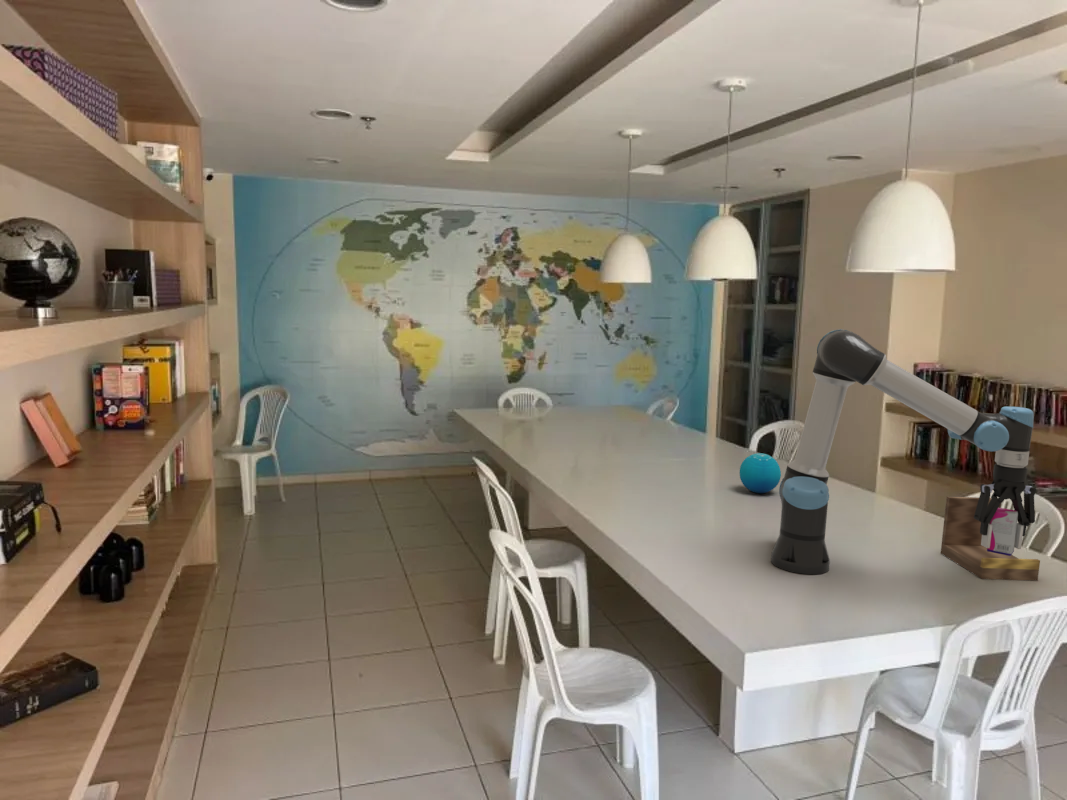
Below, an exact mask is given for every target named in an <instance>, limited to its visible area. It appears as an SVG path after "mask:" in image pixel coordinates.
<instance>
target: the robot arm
mask: <svg viewBox="0 0 1067 800" xmlns="http://www.w3.org/2000/svg"><path fill="white" fill-rule="evenodd" d="M815 358H816V359H815V361H814V362H815V363H814V364H813V370H812V375H813V376H814V378H815V384H814V387H813V391H812V394H811V399H810V402H809V406H808V409H807V412H806V417H805V421H804V424H803V428H802V432H801V434H800V435H801V436H800V438H799V441H798V447H797V450H796V454H795V457H794V459H793V460H792V461H790V462H789V463H787V466H786V468H785V473H784V476H783V478H782V479H781V480H780V482H779V492H778V493H779V497H780V502H781V510H780V511H781V514H780V528H779V535H778V538H777V539H776V542H775V544H774V547H773V548H772V551H771V557H770V562H771V564H773V565H774V567H778V568H779V569H780V570H784V571H787V572H792V573H795V574H803V575H819V574H820V575H821V574H824V573H827V572H829V570H830V566H831V565H830V563H831V561H830V558H829V552H828V549H827V545H826V540H825V539H826V531H827V527H826V526H827V518H828V517H827V516H828V504H829V500H830V493H829V491H830V490H829V486H828V481H829V477H830V473H829V472H828V471H827V468H826V467H827V463H828V460H829V457H830V454H831V449H832V445H833V442H834V440H835V439H834V438H835V434H836V431H837V428H838V424H839V421H840V418H841V417H840V416H841V414H842V410H843V406H844V402H845V399H846V396H847V392H848V388H849V387H850V386H853V385H854V384H856V382H857V383H859V384H860V385H862V386H868V385H870V386H872V387H873V388H875V389H877V390H879V391H881V392H882V393H884V394H885V395H887V396H889V397H891V398H893V399H894V400H896V401H898V402H900V403H902V404H904V405H905V406H907V407H909V408H910V409H912V410H914V411H916V412H917V413H919V414H921V415H923V416H924V417H926V418H928V419H930V420H932V421H933V422H935V423H936V424H938V425H940V426H942V427H944V428H946V429H947V433H948V436H949V437H950V438H952V439H953V440H954V439H955V440H960V441H962V440H966V441H968V442H970V443H971V444H973V445H975V446H976V447H977V448H979V449H981V450H982V451H986V452H995V455H994V462H995V464H994V465H993V471H992V472H993V473H992V477H993V478H992V479H993V481H992V482H991V483H990V484H984V483H982V484H980V486H979V488H980V489H979V490H980V494H979V497H978V498H979V500H978V504H977V507H976V511H975V514H974V519H976V520H978V521H980V522H981V526H980V534H982V540H981V545H982V546H984V547H986V548H990V541H991V533H992V524H990V521H991V520H992V518H993V516H994V514H995V513H996V511H997V509H998V507H999V505H1000V504H1001V505H1002V503H1003V502H1004V501H1005V500H1010V501H1011V503H1012V507H1013V510H1016V511H1018V520H1017V528H1016V537H1015V546H1014V549H1017V550H1021V549H1022V544H1023V543H1022V542H1023V537H1025V535H1026V532H1027V527H1029V526H1030V525H1031V524H1034V523H1035V522H1036V513H1035V511H1036V510H1035V495H1036V491H1037V488H1036V487H1033V486H1031V485H1026V483H1025V482H1026V480H1027V476H1028V468H1027V466H1028V465H1029V459H1030V450H1031V449H1030V448H1031V444H1032V443H1031V441H1032V436H1033V430H1034V419H1035V418H1034V417H1035V415H1034V411H1033V410H1032V409H1031V408H1026V407H1022V406H1003V407H1001V408H1000V411H999V413H988V412H987V413H986V412H980V411H978V410H977V409H975V408H973V407H971V406H970V405H968V404H967V403H964V402H963V401H961V400H959V399H958V398H955V397H954V396H952V395H950V394H949V393H946V392H945V391H943V390H941V389H939V388H938V387H936V386H935V385H932V384H931V383H929V382H927V381H926V380H923V379H922V378H920V377H918V376H917V375H915V374H913V373H911V372H910V371H907V370H906V369H904V368H903V367H901V366H899V365H897V364H895V363H894V362H892V361H890V360H888V358H887V355H886V353H884V352H882V351H881V350H879V349H877V348H876V347H874V346H873V345H872V344H870V343H869V342H868V341H866V339H864V338H863V337H862V336H860V335H859V334H857V333H856V332H853V331H850V330H847V329H842V328H841V329H836V330H835V329H834V330H831V331H829V332H827V333H826V334H825V335H824V336H823V337H822V338H821V339H820V340H819V341H818V344H817V347H816V357H815ZM991 493H992V495H991ZM1022 493H1023V498H1022V495H1021V494H1022ZM990 498H991V500H990V502H989V499H990ZM988 502H989V504H988Z"/></svg>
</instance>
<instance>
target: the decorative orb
mask: <svg viewBox="0 0 1067 800" xmlns="http://www.w3.org/2000/svg"><path fill="white" fill-rule="evenodd" d="M781 472H782V471H781V468H780V465H779V463H778V461H777V460H776V459H775V458H774V457H772V456H771V455H769V454H767V453H761V452H758V453H757V452H756V453H752V454H751V455H750V454H749V456H747V457H746V458H745V459H743V461H742V463H741V464H740V466H739V479H740V482H741V484H742V485H743V486H744V487H745V488H746V489H747V490H748V491H750V492H753V493H756V494H765V493H769V492H771V491H773V490H774V489H775V488H776V487H777V486H778V485H779V484H780V482H781V477H782V473H781Z"/></svg>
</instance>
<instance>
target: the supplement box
mask: <svg viewBox="0 0 1067 800" xmlns="http://www.w3.org/2000/svg"><path fill="white" fill-rule="evenodd" d="M1017 523H1018V511H1016V510H1014V509H1009V508H1003V507H1001V508H998V509H997V511H996V513H995V514H994V516H993V518H992V520H991V521H990V524H992V533H991V541H990V548H987V551H988V552H993V553H998V554H1003V555H1008V556H1011V555H1013V554H1014V552H1015V547H1014V546H1015V537H1016V528H1017Z"/></svg>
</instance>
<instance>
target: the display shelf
mask: <svg viewBox="0 0 1067 800" xmlns="http://www.w3.org/2000/svg"><path fill="white" fill-rule="evenodd" d="M978 500H979V497H976V496H975V497H969V496H946V501H945V510H944V517H943V519H944V520H943V529H942V535H941V536H942V537H941V545H940V546H941V547H940V555H943V556H944V555H945V556H944V557H946V558H947V559H949V558H950V559H949V560H950V561H952V560H953V562H954V563H956V564H957V563H958V564H957V565H958V566H960V565H961V566H960V567H962V568H963V567H964V569H965V568H966V569H965V570H967V571H968V570H969V571H968V572H970V573H971V572H972V574H973V575H975V576H976V577H978V578H979V579H981V580H1006V581H1008V580H1010V581H1012V580H1013V581H1014V580H1015V581H1038V580H1039V572H1040V565H1041V560H1040V559H1038V558H1037V559H1036V558H1018V557H1016V556H1014V555H1013V554H1012V555H1011V556H1008V555H1003V554H998V553H993V552H988V551H987V548H986V547H984V546H982V545H981V540H982V534H980V526H981V522H980V521H978V520H976V519H974V514H975V511H976V507H977V504H978ZM990 500H991V497H990V499H989V502H990ZM989 502H988V504H989ZM1001 506H1002V503H1001V504H1000V505H999V507H998V508H1002V507H1001Z"/></svg>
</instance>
